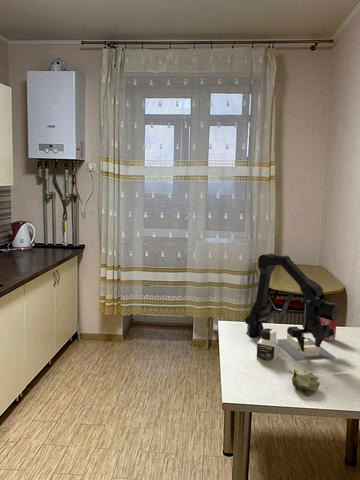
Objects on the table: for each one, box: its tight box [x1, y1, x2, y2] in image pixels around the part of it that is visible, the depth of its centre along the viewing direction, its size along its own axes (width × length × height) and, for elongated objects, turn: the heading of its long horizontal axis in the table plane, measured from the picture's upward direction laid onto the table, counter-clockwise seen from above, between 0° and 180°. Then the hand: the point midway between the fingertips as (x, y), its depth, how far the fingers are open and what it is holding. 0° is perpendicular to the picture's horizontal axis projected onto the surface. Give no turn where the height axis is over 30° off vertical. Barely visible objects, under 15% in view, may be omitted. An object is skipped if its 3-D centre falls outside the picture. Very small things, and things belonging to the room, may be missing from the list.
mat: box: [276, 337, 337, 362], centre depth 180 cm, size 18×23×1 cm
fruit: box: [289, 368, 321, 398], centre depth 144 cm, size 9×9×8 cm
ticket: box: [286, 333, 310, 349], centre depth 184 cm, size 6×10×3 cm, turn 11°
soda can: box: [319, 317, 337, 342], centre depth 192 cm, size 7×7×12 cm
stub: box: [300, 344, 319, 356], centre depth 174 cm, size 6×5×3 cm
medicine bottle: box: [256, 327, 280, 363], centre depth 169 cm, size 7×7×12 cm
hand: (309, 350), depth 174 cm, fingers closed on stub, 6 cm apart
